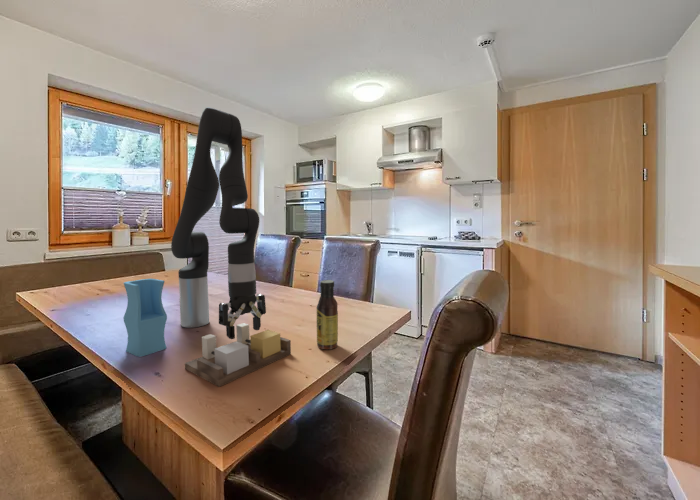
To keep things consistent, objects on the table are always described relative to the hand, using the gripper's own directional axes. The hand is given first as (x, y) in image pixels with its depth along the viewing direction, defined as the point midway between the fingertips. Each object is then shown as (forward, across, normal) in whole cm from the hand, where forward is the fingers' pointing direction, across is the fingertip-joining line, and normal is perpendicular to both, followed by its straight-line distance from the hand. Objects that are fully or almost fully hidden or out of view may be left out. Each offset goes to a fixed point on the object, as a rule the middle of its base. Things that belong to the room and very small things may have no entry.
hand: (244, 334), depth 93 cm
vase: (+4, +16, -23) cm, 29 cm away
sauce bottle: (+5, -16, +18) cm, 24 cm away
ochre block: (+3, 0, +5) cm, 6 cm away
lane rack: (+5, +5, +6) cm, 9 cm away
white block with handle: (+3, +11, +5) cm, 12 cm away
